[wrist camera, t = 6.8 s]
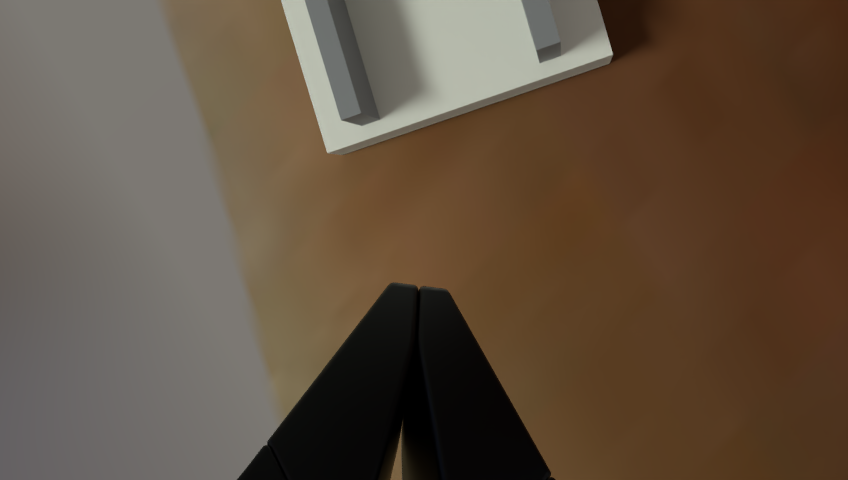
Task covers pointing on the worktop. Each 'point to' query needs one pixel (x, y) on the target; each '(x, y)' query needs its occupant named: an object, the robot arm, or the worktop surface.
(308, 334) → the worktop surface
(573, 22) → the housing
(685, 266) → the worktop surface
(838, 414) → the worktop surface
